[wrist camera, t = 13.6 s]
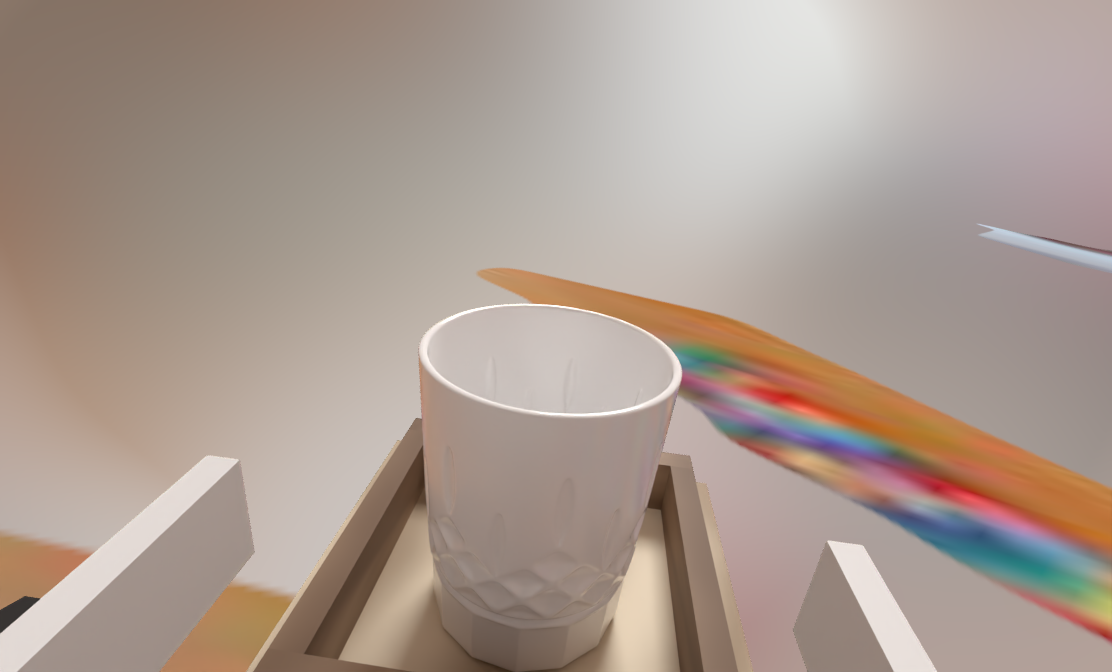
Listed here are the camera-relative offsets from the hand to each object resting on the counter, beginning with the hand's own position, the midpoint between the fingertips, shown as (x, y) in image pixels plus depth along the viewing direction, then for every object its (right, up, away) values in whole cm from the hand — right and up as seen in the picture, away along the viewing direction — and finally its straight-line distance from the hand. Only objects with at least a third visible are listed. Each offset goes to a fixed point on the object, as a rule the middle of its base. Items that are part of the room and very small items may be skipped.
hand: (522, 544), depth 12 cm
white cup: (0, -5, +8) cm, 10 cm away
